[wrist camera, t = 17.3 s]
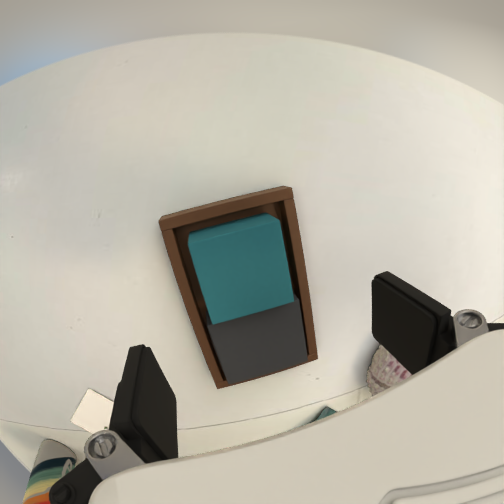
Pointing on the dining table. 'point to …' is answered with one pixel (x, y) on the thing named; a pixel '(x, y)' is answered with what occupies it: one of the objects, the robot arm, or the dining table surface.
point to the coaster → (93, 412)
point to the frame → (219, 212)
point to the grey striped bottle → (48, 471)
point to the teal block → (241, 266)
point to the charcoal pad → (260, 342)
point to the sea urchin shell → (385, 372)
